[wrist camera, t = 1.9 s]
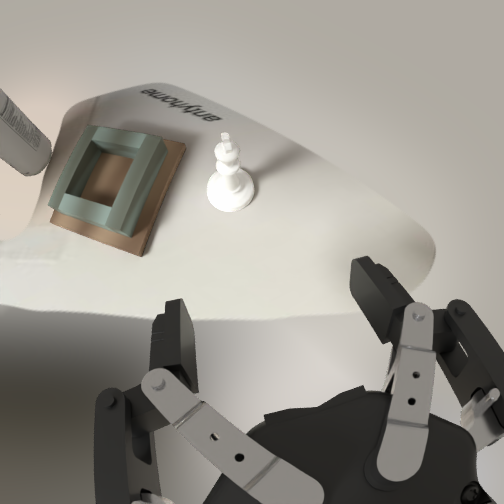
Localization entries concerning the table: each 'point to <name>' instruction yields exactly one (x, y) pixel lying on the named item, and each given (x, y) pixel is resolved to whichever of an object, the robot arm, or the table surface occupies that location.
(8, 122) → the energy drink can
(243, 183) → the chess piece
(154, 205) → the socket board
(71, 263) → the table surface
